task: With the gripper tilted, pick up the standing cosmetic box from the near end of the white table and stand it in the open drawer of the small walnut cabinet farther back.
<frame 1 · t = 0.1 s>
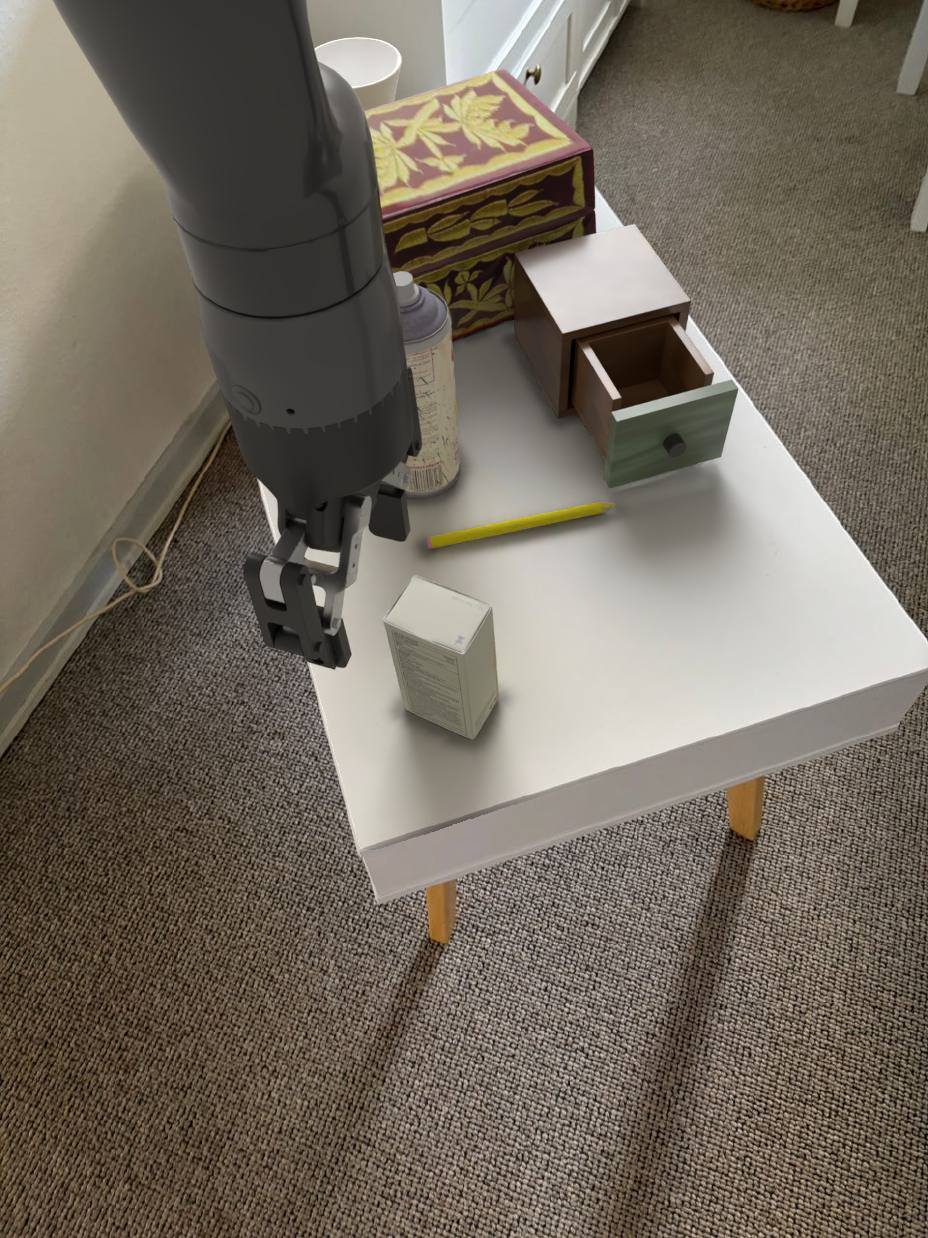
hand: (362, 593, 52), 22 cm above the table, tool pointing down, fingers open, 8 cm apart
cabinet: (592, 362, 94), on the table
lightbulb: (350, 414, 92), on the table
pencil: (523, 528, 83), on the table
cosmetic box: (449, 705, 74), on the table
decorative box: (438, 283, 102), on the table
aerosol can: (422, 470, 87), on the table
cup: (367, 185, 112), on the table
drawer: (648, 403, 84), point 5 cm above the table, slide at 9.0 cm
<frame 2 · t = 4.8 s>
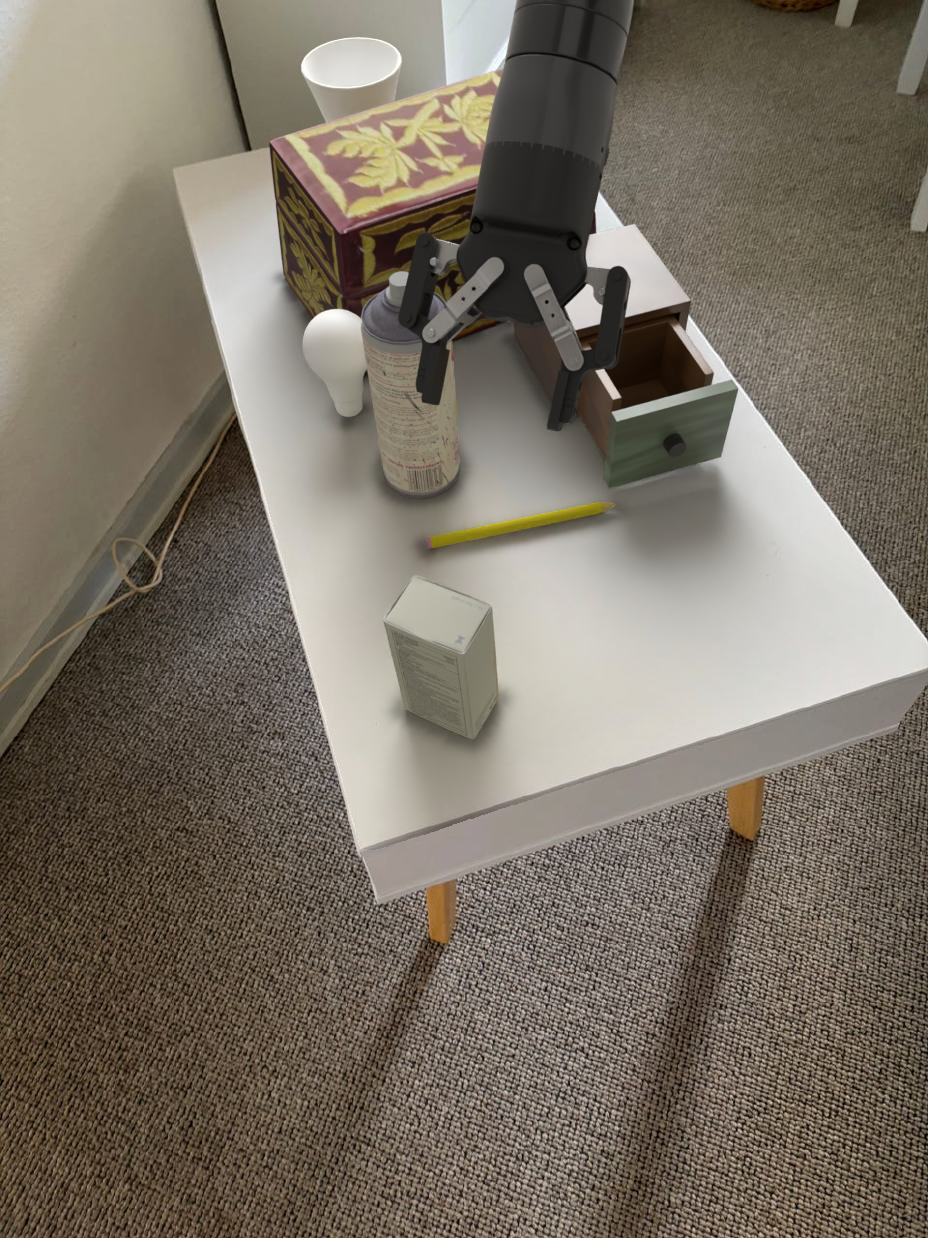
hand: (491, 417, 64), 19 cm above the table, tool tilted 45°, fingers open, 8 cm apart
nothing on the table moved.
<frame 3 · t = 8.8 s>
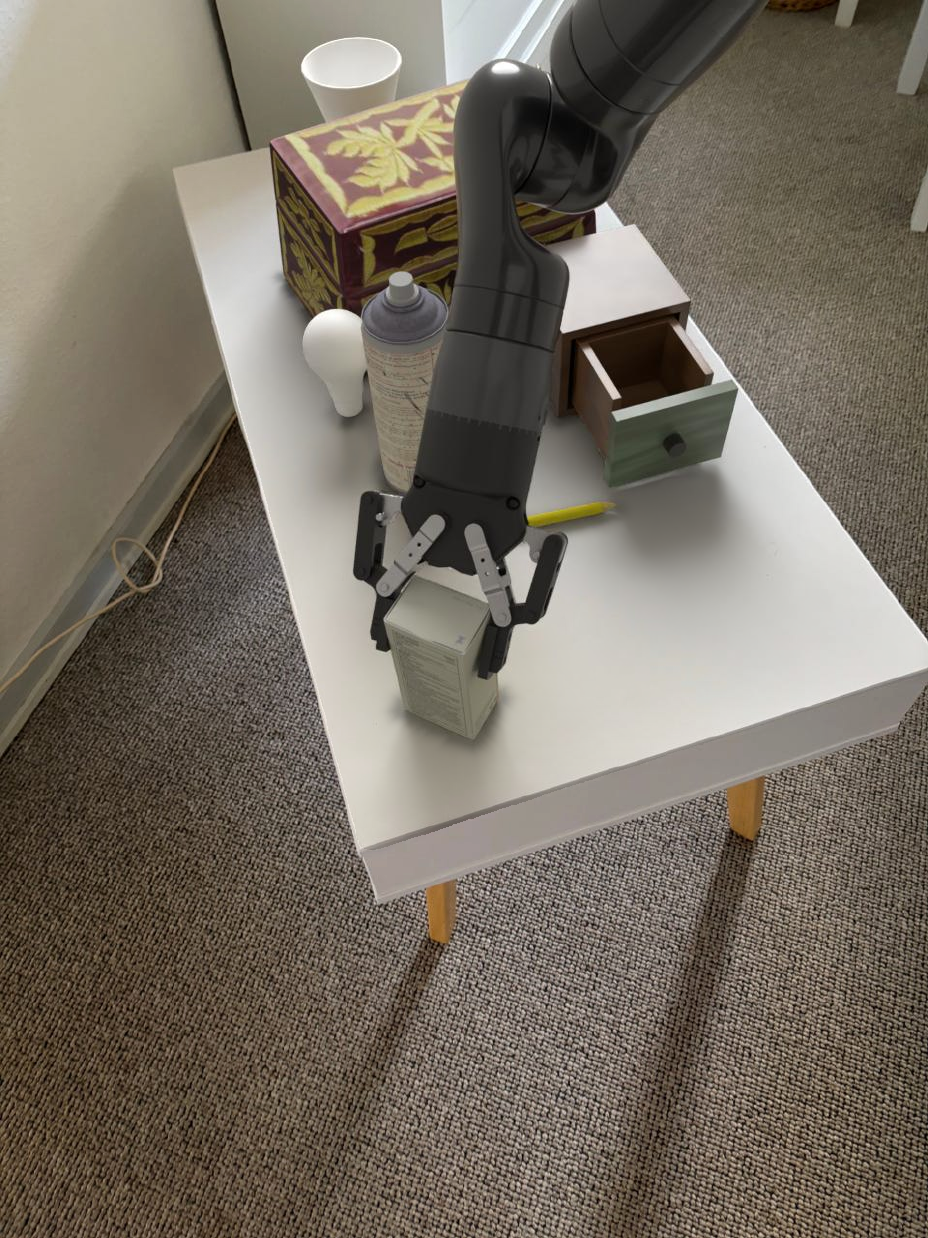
hand: (434, 662, 66), 8 cm above the table, tool tilted 45°, fingers closed on cosmetic box, 6 cm apart
cosmetic box: (449, 704, 74), on the table, touching gripper
everything else where it was.
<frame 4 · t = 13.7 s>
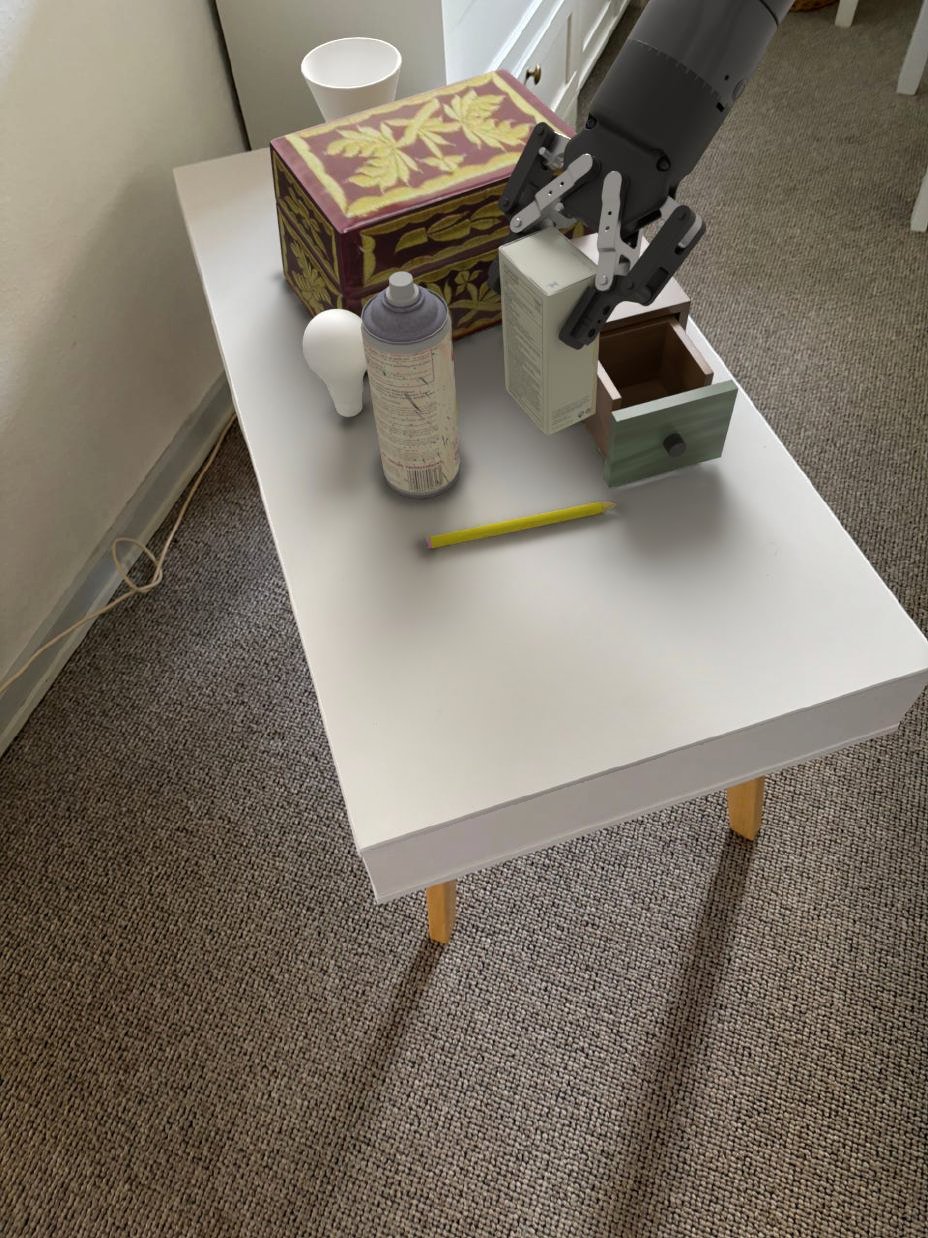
hand: (532, 317, 65), 22 cm above the table, tool tilted 45°, fingers closed on cosmetic box, 6 cm apart
cosmetic box: (547, 403, 72), point 13 cm above the table, touching gripper
everything else where it was.
when the fingers open (11 cm above the table, at t = 18.7 s): cosmetic box stays where it is, resting on drawer.
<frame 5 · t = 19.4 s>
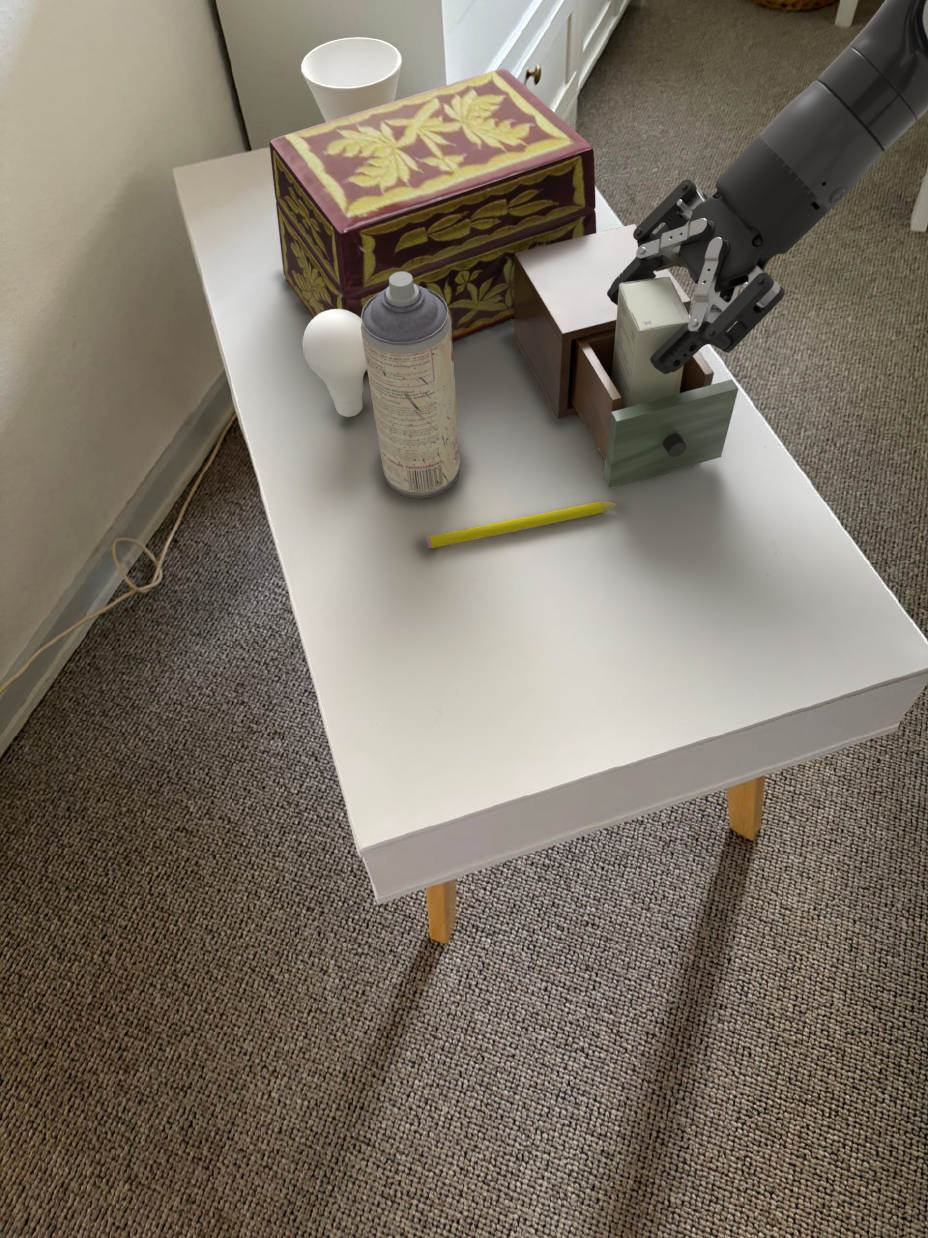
hand: (635, 334, 79), 12 cm above the table, tool tilted 45°, fingers open, 8 cm apart
cosmetic box: (638, 417, 87), point 2 cm above the table, touching drawer
drawer: (648, 402, 84), point 5 cm above the table, slide at 9.0 cm, touching cosmetic box
everything else where it was.
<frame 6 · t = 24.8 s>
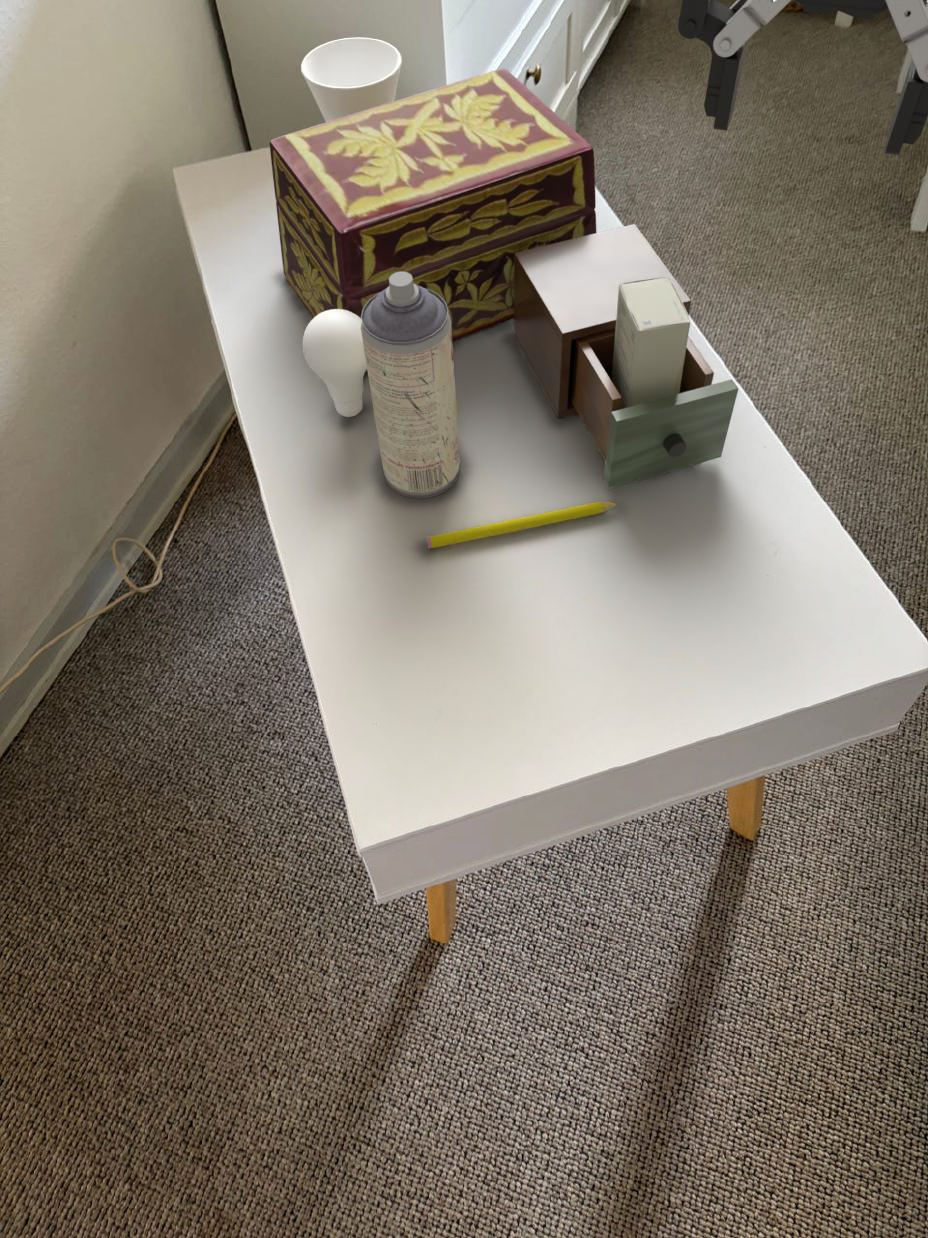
hand: (806, 133, 50), 36 cm above the table, tool pointing down, fingers open, 8 cm apart
nothing on the table moved.
at the end: cosmetic box inside the target area in the drawer (0.1 cm from its centre), point 1.9 cm above the cabinet's base; the gripper is holding nothing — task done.
